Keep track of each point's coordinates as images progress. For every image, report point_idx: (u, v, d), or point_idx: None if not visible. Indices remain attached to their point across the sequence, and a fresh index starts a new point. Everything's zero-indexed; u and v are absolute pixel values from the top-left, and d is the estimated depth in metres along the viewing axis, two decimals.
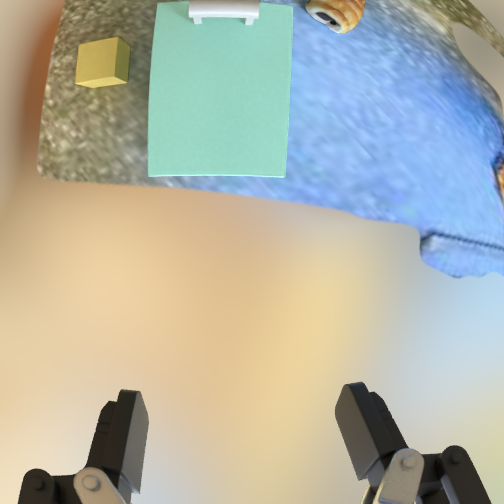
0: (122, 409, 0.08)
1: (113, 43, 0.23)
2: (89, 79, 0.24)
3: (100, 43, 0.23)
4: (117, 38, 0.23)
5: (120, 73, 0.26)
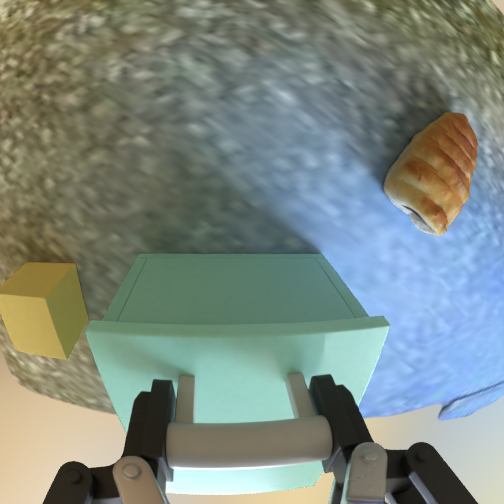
0: (157, 398, 0.09)
1: (42, 308, 0.15)
2: (33, 352, 0.16)
3: (22, 302, 0.14)
4: (45, 300, 0.14)
5: (73, 334, 0.18)
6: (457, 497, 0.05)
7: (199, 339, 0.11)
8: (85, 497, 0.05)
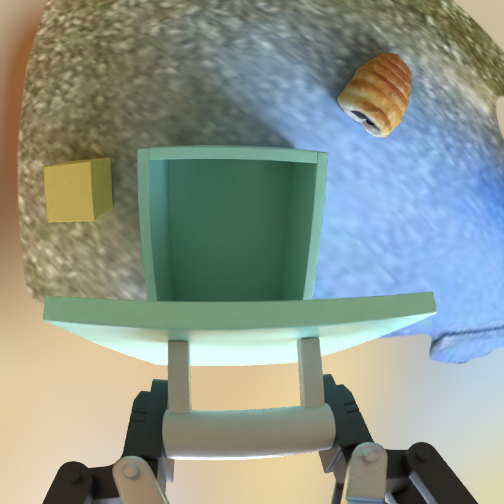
0: (157, 398, 0.09)
1: (85, 171, 0.21)
2: (64, 220, 0.22)
3: (69, 169, 0.20)
4: (89, 164, 0.21)
5: (101, 206, 0.24)
6: (457, 497, 0.05)
7: (191, 329, 0.08)
8: (85, 497, 0.05)
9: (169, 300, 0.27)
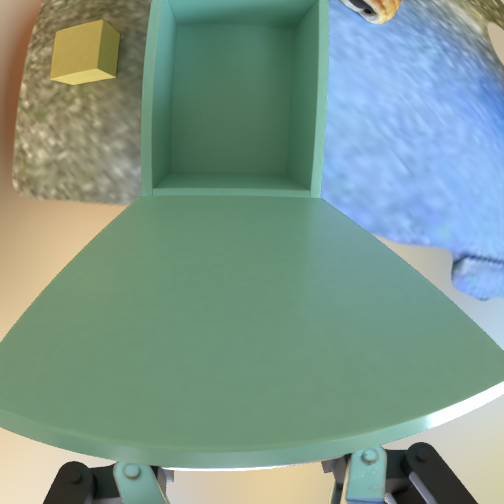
0: None
1: (97, 27, 0.17)
2: (66, 73, 0.18)
3: (82, 27, 0.16)
4: (102, 21, 0.17)
5: (106, 65, 0.20)
6: (457, 497, 0.05)
7: None
8: (85, 497, 0.05)
9: (164, 154, 0.23)
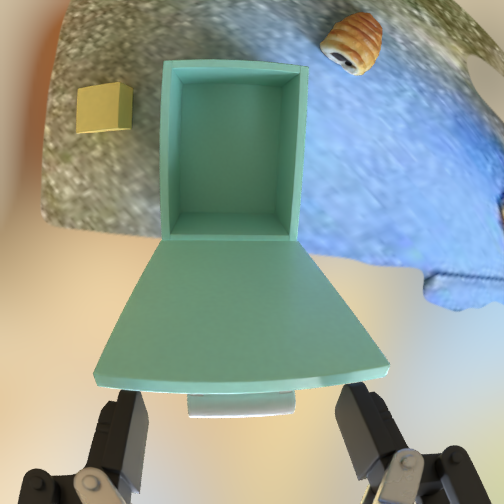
0: (122, 409, 0.08)
1: (115, 89, 0.24)
2: (91, 129, 0.25)
3: (101, 88, 0.24)
4: (119, 83, 0.24)
5: (124, 121, 0.27)
6: None
7: None
8: (51, 502, 0.04)
9: (176, 201, 0.30)
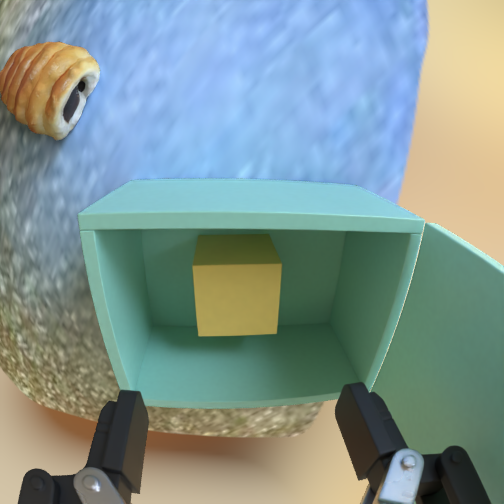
0: (122, 409, 0.08)
1: (207, 273, 0.16)
2: (276, 309, 0.18)
3: (202, 298, 0.17)
4: (196, 266, 0.16)
5: (264, 249, 0.18)
6: None
7: None
8: (51, 502, 0.04)
9: (317, 347, 0.22)
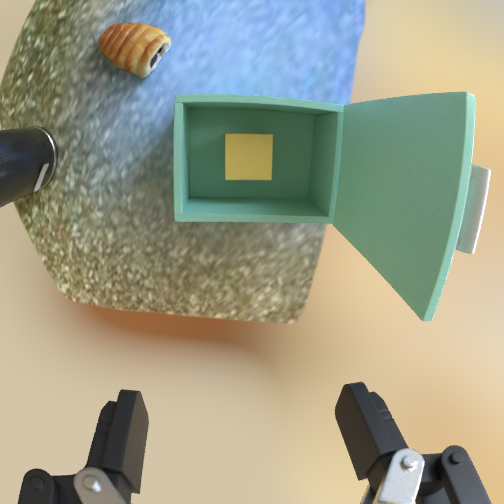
0: (122, 409, 0.08)
1: (233, 138, 0.29)
2: (270, 162, 0.31)
3: (229, 153, 0.30)
4: (227, 134, 0.29)
5: None
6: None
7: None
8: (51, 502, 0.04)
9: (298, 204, 0.35)
